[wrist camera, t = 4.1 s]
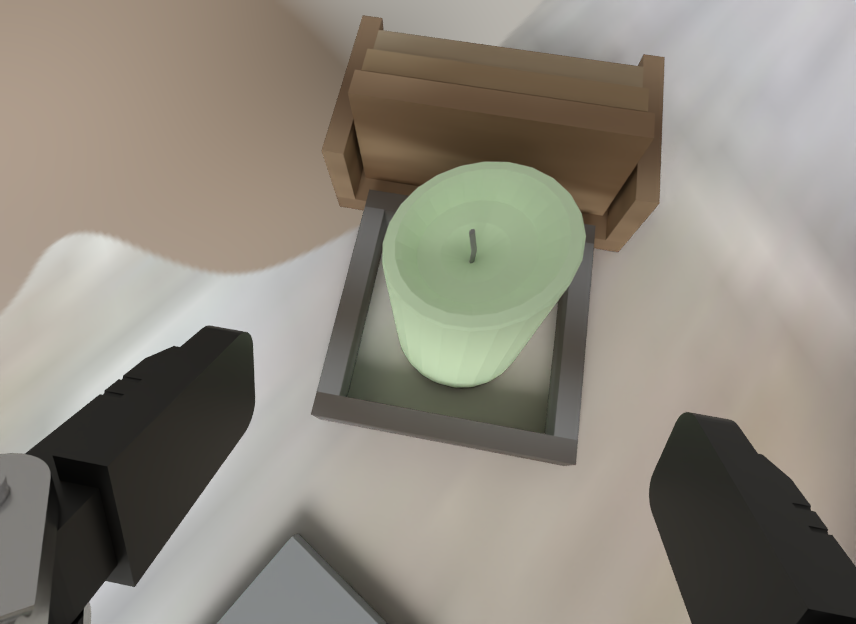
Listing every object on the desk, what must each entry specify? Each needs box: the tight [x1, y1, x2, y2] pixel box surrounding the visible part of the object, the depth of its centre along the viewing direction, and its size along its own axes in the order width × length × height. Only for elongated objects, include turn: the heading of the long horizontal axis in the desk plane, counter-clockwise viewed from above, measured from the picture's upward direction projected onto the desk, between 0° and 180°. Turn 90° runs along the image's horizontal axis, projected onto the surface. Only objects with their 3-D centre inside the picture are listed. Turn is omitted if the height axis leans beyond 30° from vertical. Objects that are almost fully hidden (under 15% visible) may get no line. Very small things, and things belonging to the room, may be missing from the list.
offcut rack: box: [311, 16, 665, 466], centre depth 18 cm, size 16×12×6 cm
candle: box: [382, 162, 586, 388], centre depth 15 cm, size 5×5×8 cm
